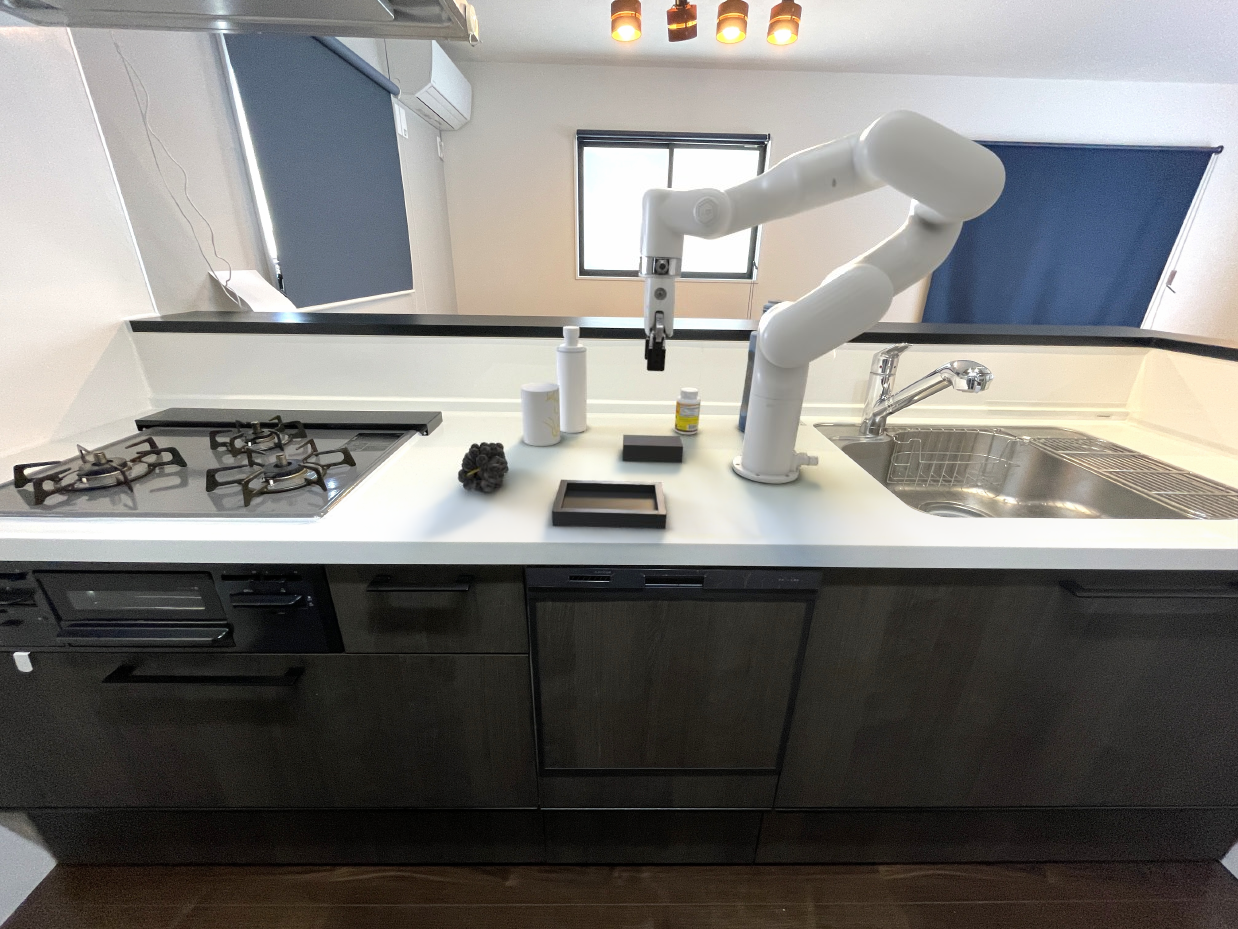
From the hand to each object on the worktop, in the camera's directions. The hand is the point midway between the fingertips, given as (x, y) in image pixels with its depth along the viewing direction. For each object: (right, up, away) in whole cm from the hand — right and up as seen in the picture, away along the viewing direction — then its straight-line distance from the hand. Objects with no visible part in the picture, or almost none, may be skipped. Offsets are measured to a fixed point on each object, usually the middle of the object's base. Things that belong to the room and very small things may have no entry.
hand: (653, 364), depth 94 cm
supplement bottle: (+9, -11, +23) cm, 27 cm away
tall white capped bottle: (-18, -11, +23) cm, 31 cm away
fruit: (-30, -22, -4) cm, 38 cm away
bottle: (+27, -11, +26) cm, 39 cm away
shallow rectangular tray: (-8, -26, -13) cm, 31 cm away
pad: (0, -17, +8) cm, 19 cm away
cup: (-24, -14, +16) cm, 32 cm away
